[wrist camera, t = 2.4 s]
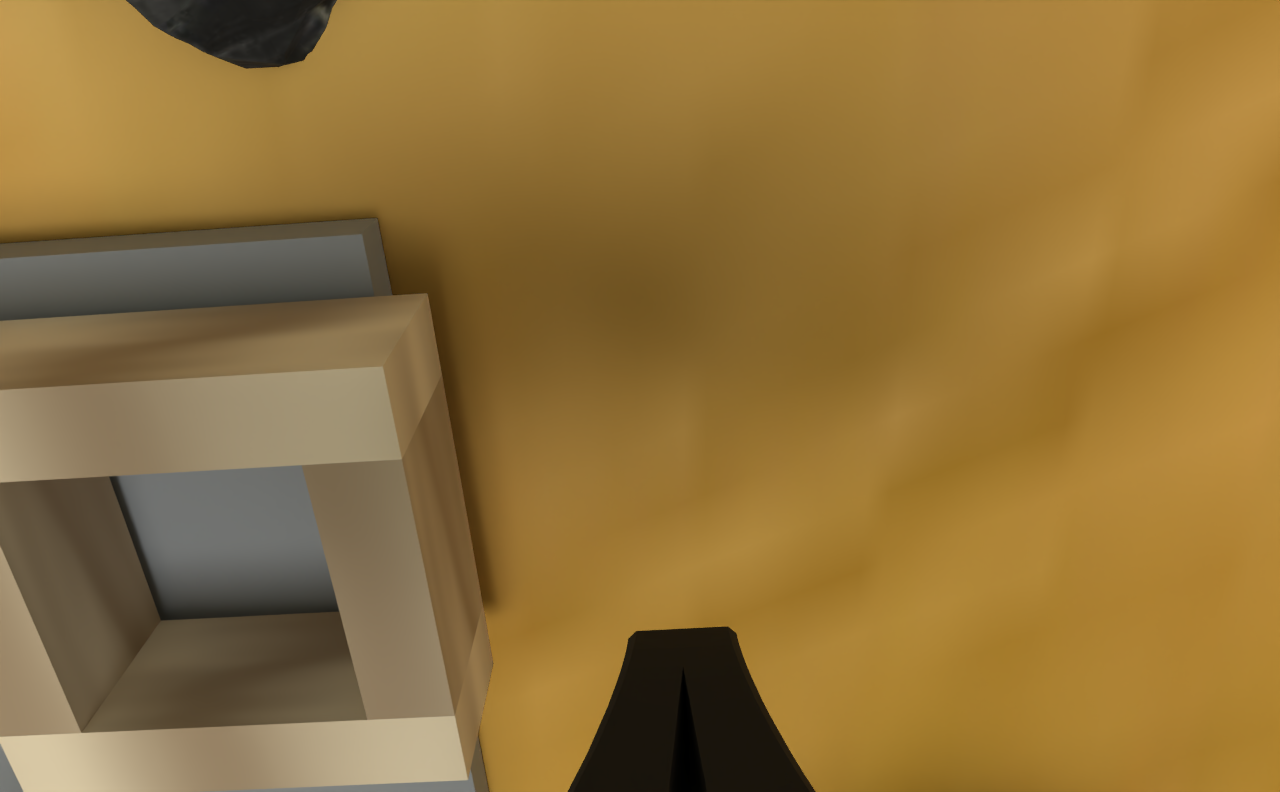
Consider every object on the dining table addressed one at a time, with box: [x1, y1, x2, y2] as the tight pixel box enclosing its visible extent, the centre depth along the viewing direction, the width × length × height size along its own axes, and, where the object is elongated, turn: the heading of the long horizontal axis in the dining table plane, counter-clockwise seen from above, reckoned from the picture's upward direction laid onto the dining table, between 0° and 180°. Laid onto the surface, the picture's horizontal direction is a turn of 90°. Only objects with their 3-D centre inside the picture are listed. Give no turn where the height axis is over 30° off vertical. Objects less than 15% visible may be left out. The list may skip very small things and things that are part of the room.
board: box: [0, 218, 489, 792], centre depth 19 cm, size 12×18×4 cm, turn 4°
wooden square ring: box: [0, 293, 493, 792], centre depth 17 cm, size 8×8×3 cm
